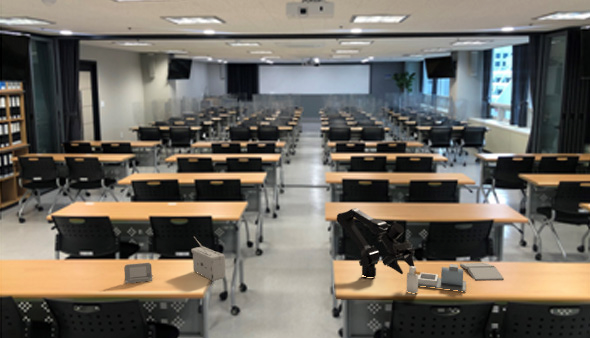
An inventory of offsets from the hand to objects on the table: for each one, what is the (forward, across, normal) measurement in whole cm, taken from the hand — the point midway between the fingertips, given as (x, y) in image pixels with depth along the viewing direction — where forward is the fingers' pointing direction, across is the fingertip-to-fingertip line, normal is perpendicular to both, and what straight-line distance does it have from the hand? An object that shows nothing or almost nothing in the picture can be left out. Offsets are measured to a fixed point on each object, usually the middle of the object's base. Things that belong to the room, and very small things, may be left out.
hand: (408, 271), depth 243 cm
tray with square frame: (+11, +18, +3) cm, 21 cm away
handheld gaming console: (-64, -92, +78) cm, 136 cm away
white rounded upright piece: (+9, 0, +5) cm, 10 cm away
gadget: (+14, +49, +1) cm, 51 cm away
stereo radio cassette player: (-51, -62, +65) cm, 103 cm away
